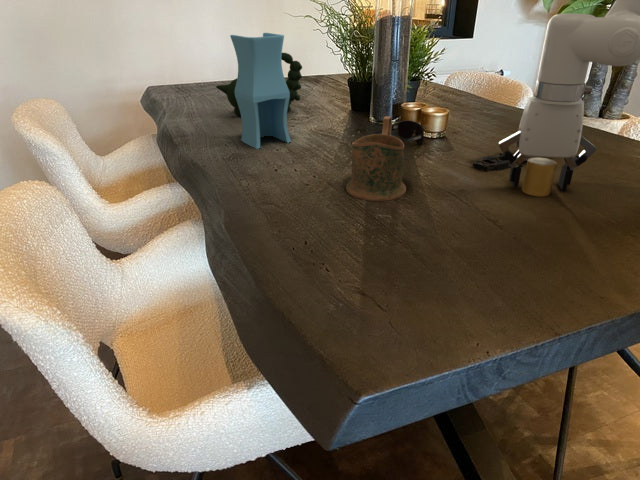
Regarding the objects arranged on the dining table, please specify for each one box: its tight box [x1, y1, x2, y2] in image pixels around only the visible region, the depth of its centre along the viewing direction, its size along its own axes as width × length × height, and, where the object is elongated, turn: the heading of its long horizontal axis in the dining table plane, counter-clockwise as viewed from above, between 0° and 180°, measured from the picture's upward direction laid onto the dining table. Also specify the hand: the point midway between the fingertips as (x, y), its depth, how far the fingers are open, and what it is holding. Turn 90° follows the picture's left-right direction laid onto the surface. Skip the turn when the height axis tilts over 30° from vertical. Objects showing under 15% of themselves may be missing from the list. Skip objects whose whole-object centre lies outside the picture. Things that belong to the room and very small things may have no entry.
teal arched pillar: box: [229, 32, 292, 150], centre depth 119 cm, size 10×10×25 cm
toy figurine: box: [215, 52, 303, 117], centre depth 145 cm, size 9×19×25 cm
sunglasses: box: [373, 119, 425, 146], centre depth 120 cm, size 10×12×5 cm
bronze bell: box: [345, 115, 407, 202], centre depth 95 cm, size 12×18×12 cm, turn 163°
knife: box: [472, 152, 534, 172], centre depth 109 cm, size 25×6×1 cm, turn 112°
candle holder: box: [521, 157, 558, 197], centre depth 92 cm, size 5×5×6 cm
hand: (537, 186), depth 93 cm, fingers open, 8 cm apart
